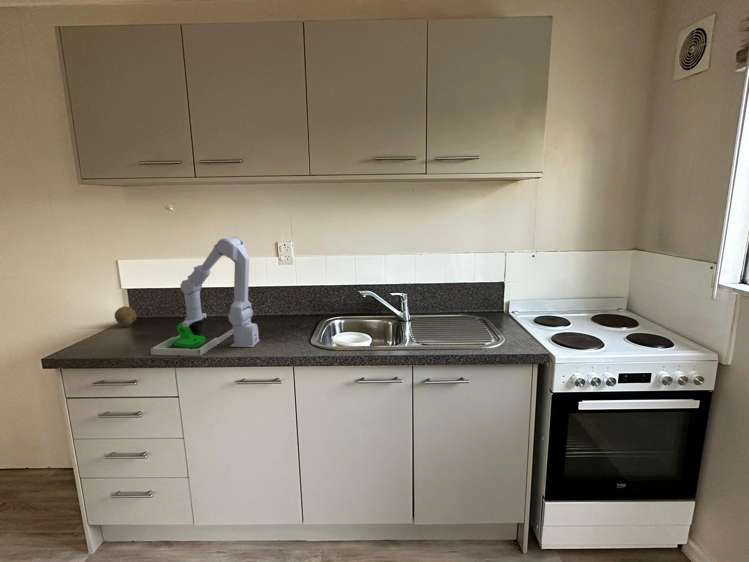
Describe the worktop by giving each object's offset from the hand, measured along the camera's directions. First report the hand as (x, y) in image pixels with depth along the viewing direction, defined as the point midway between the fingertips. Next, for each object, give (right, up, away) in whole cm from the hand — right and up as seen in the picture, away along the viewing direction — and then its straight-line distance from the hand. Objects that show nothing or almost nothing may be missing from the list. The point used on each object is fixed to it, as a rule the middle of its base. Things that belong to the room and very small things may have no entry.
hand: (196, 338), depth 169 cm
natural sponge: (-45, +2, +26) cm, 52 cm away
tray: (-1, -3, -8) cm, 8 cm away
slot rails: (+1, 0, +9) cm, 9 cm away
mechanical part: (-1, -2, -3) cm, 4 cm away
